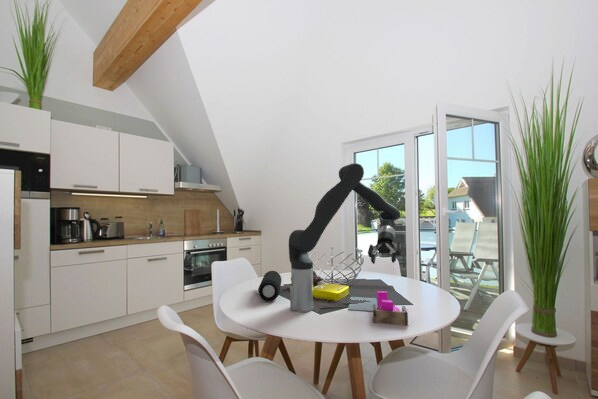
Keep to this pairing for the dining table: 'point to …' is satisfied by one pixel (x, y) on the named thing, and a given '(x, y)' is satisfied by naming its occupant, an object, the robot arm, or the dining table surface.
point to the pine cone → (316, 279)
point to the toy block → (385, 302)
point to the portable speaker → (270, 286)
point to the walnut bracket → (390, 316)
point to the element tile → (330, 291)
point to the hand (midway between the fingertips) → (382, 261)
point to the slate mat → (363, 304)
